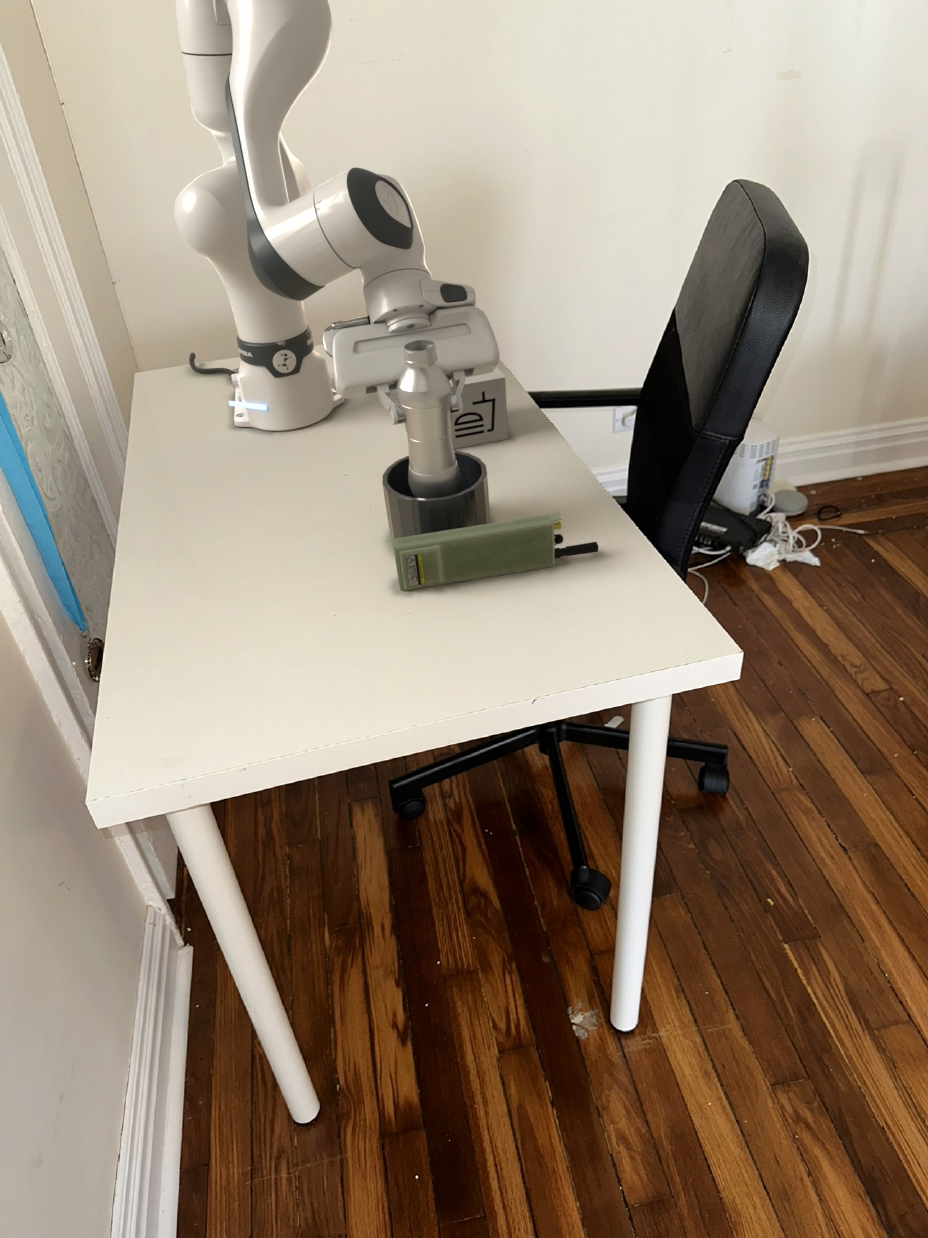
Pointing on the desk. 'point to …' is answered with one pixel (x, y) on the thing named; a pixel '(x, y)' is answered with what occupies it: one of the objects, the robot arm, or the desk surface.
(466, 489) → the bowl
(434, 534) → the handheld radio
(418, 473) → the metal bottle
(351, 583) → the desk surface
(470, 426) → the icon cube
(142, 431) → the desk surface
